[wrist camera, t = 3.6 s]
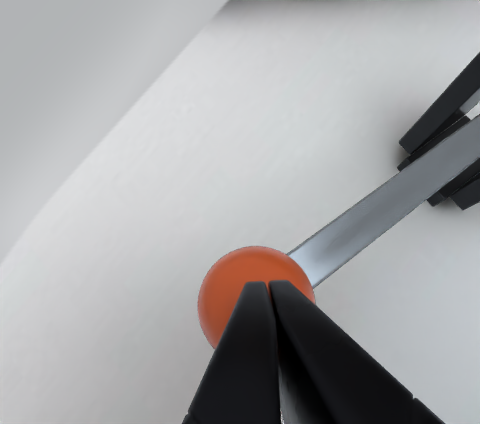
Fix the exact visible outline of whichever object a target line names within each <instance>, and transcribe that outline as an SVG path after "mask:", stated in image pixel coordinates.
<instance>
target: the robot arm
mask: <svg viewBox="0 0 480 424" xmlns="http://www.w3.org/2000/svg"><path fill="white" fill-rule="evenodd" d="M280 408H281V412H282V416H283V420H284V424H445V423H444V422H443V421H442V420H441V419H440V418H438V417H437V416H436V415H435V414H434V413H433V412H432V411H431V410H430V409H428V408H427V407H426V406H425V405H424V404H423V403H422V402H421V401H420V400H419V399H417V398H414V399H413V394H412V393H411V392H410V391H409V390H408V389H406V388H405V387H404V386H403V385H402V384H401V383H400V382H399V381H398V380H397V379H396V378H394V377H393V376H392V375H391V374H390V373H389V372H388V371H387V370H386V369H385V368H384V367H382V366H381V365H380V364H379V363H378V362H377V361H376V360H375V359H374V358H373V357H372V356H370V355H369V354H368V353H367V352H366V351H365V350H364V349H363V348H362V347H361V346H360V345H358V344H357V343H356V342H355V341H354V340H353V339H352V338H351V337H350V336H349V335H348V334H346V333H345V332H344V331H343V330H342V329H341V328H340V327H339V326H338V325H337V324H336V323H334V322H333V321H332V320H331V319H330V318H329V317H328V316H327V315H326V314H325V313H324V312H322V311H321V310H320V309H319V308H318V307H317V306H316V305H315V304H314V303H313V302H312V301H310V300H309V299H308V298H307V297H306V296H305V295H304V294H303V293H302V292H301V291H300V290H298V289H297V288H296V287H295V286H294V285H293V284H292V283H291V282H290V281H288V280H271V281H269V283H268V288H267V286H266V283H265V282H264V281H249V282H246V283H245V284H244V287H243V289H242V291H241V293H240V295H239V298H238V300H237V302H236V304H235V307H234V309H233V311H232V313H231V316H230V318H229V320H228V322H227V324H226V327H225V329H224V331H223V333H222V336H221V338H220V340H219V342H218V345H217V347H216V349H215V351H214V354H213V356H212V358H211V360H210V362H209V365H208V367H207V369H206V371H205V374H204V376H203V378H202V380H201V383H200V385H199V387H198V389H197V392H196V394H195V396H194V398H193V400H192V403H191V405H190V407H189V409H188V414H187V415H186V416H185V418H184V420H183V422H182V424H281V412H280Z"/></svg>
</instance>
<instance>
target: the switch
mask: <svg viewBox="0 0 480 424" xmlns="http://www.w3.org/2000/svg"><path fill="white" fill-rule="evenodd" d="M479 158H480V114H479V115H478V116H476V117H475V118H474V119H472V120H471V121H469V122H468V123H467V124H465V125H464V126H462V127H461V128H460V129H458V130H457V131H456V132H454V133H453V134H451V135H450V136H449V137H447V138H446V139H445V140H443V141H442V142H440V143H439V144H438V145H436V146H435V147H434V148H432V149H431V150H429V151H428V152H427V153H425V154H424V155H423V156H421V157H420V158H418V159H417V160H416V161H414V162H413V163H412V164H410V165H409V166H407V167H406V168H405V169H403V170H402V171H400V172H399V173H398V174H396V175H395V176H394V177H392V178H391V179H389V180H388V181H387V182H385V183H384V184H383V185H381V186H380V187H378V188H377V189H376V190H374V191H373V192H372V193H370V194H369V195H367V196H366V197H365V198H363V199H362V200H361V201H359V202H358V203H356V204H355V205H354V206H352V207H351V208H350V209H348V210H347V211H345V212H344V213H343V214H341V215H340V216H339V217H337V218H336V219H334V220H333V221H332V222H330V223H329V224H327V225H326V226H325V227H323V228H322V229H321V230H319V231H318V232H316V233H315V234H314V235H312V236H311V237H310V238H308V239H307V240H305V241H304V242H303V243H301V244H300V245H299V246H297V247H296V248H294V249H293V250H292V251H290V252H289V253H288V254H284V253H282V252H280V251H278V250H275V249H272V248H268V247H262V246H249V247H243V248H240V249H236V250H234V251H232V252H230V253H228V254H226V255H225V256H223V257H222V258H220V259H219V260H218V261H217V262H216V263H215V264H214V265H213V266H212V267H211V268H210V270H209V271H208V273H207V274H206V276H205V278H204V280H203V282H202V285H201V287H200V291H199V295H198V317H199V321H200V325H201V328H202V330H203V333H204V335H205V337H206V338H207V340H208V342H209V343H210V344H211V346H212V347H213V348H214V349H216V347H217V345H218V342H219V340H220V338H221V336H222V333H223V331H224V329H225V327H226V324H227V322H228V320H229V318H230V316H231V313H232V311H233V309H234V307H235V304H236V302H237V300H238V298H239V295H240V293H241V291H242V289H243V287H244V284H245V283H246V282H249V281H264V282H265V283H266V286H267V288H268V283H269V281H271V280H288V281H290V282H291V283H292V284H293V285H294V286H295V287H296V288H297V289H298V290H300V291H301V292H302V293H303V294H304V295H305V296H306V297H307V298H308V299H309V300H310V301H312V302H313V303H314V304H315V296H314V292H313V289H314V288H315V287H316V286H317V285H319V284H320V283H321V282H323V281H324V280H325V279H326V278H328V277H329V276H330V275H331V274H333V273H334V272H335V271H337V270H338V269H339V268H340V267H342V266H343V265H344V264H345V263H347V262H348V261H349V260H350V259H352V258H353V257H354V256H356V255H357V254H358V253H359V252H361V251H362V250H363V249H364V248H366V247H367V246H368V245H370V244H371V243H372V242H373V241H375V240H376V239H377V238H378V237H380V236H381V235H382V234H383V233H385V232H386V231H387V230H389V229H390V228H391V227H392V226H394V225H395V224H396V223H397V222H399V221H400V220H401V219H402V218H404V217H405V216H406V215H408V214H409V213H410V212H411V211H413V210H414V209H415V208H416V207H418V206H419V205H420V204H422V203H423V202H424V201H425V200H427V199H428V198H429V197H430V196H432V195H433V194H434V193H435V192H437V191H438V190H439V189H441V188H442V187H443V186H444V185H446V184H447V183H448V182H449V181H451V180H452V179H453V178H455V177H456V176H457V175H458V174H460V173H461V172H462V171H463V170H465V169H466V168H467V167H468V166H470V165H471V164H472V163H474V162H475V161H476V160H477V159H479Z"/></svg>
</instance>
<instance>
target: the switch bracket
mask: <svg viewBox="0 0 480 424" xmlns="http://www.w3.org/2000/svg"><path fill="white" fill-rule="evenodd" d="M478 102H480V52H479V53H478V54H477V55H476V57H475V58H474V59H473V60H472V61H471V62H470V63H469V64H468V65H467V67H466V68H465V69H464V70H463V71H462V72H461V73H460V74H459V75H458V77H457V78H456V79H455V80H454V81H453V82H452V83H451V84H450V85H449V87H448V88H447V89H446V90H445V91H444V92H443V93H442V94H441V95H440V96H439V98H438V99H437V100H436V101H435V102H434V103H433V104H432V105H431V106H430V108H429V109H428V110H427V111H426V112H425V113H424V114H423V115H422V116H421V118H420V119H419V120H418V121H417V122H416V123H415V124H414V125H413V126H412V128H411V129H410V130H409V131H408V132H407V133H406V134H405V135H404V136H403V137H402V139H401V140H400V141H399V144H400V145H401V146H402V147H403V148H404V149H405V150H406V151H407V153H408V154H410V156H409V157H408V158H406V159H405V160H404V161H403V162H402V163H401V164H400V165H399V166H398V167H397V168H398V170H399V171H402V170H403V169H405V168H406V167H407V166H409V165H410V164H412V163H413V162H414V161H416V160H417V159H418V158H420V157H421V156H423V155H424V154H425V153H427V152H428V151H429V150H431V149H432V148H434V147H435V146H436V145H438V144H439V143H440V142H442V141H443V140H445V139H446V138H447V137H449V136H450V135H451V134H453V133H454V132H456V131H457V130H458V129H460V128H461V127H462V126H464V125H465V124H467V123H468V122H469V121H471V120H470V119H469V118H468V117H467V116H464V115H465V114H466V113H467V112H469V111H470V110H471V109H472V108H473V107H474V106H475V105H476V104H477V103H478ZM463 116H464V117H463ZM459 119H460V120H459ZM456 121H457V122H456ZM452 124H453V125H452ZM448 127H449V128H448ZM445 129H446V130H445ZM444 130H445V131H444ZM441 132H442V133H441ZM437 135H438V136H437ZM433 138H434V139H433ZM430 140H431V141H430ZM426 143H427V144H426ZM422 146H423V147H422ZM419 148H420V149H419ZM418 149H419V150H418ZM415 151H416V152H415ZM411 154H412V155H411ZM476 174H477V175H476ZM475 175H476V176H475ZM471 178H472V179H471ZM466 182H467V183H466ZM461 186H462V187H461ZM456 190H457V191H456ZM452 193H453V194H452ZM451 194H452V195H451ZM449 196H450V198H451V199H452V200H453V201H454V202H455V203H456V204H457V205H458V206H459V207H460V209H461V210H465V209H467V208H469V207H470V206H472V205H474V204H476V203H478V202H480V158H479V159H477V160H476V161H475V162H474V163H472V164H471V165H470V166H468V167H467V168H466V169H465V170H463V171H462V172H461V173H460V174H458V175H457V176H456V177H455V178H453V179H452V180H451V181H449V182H448V183H447V184H446V185H444V186H443V187H442V188H441V189H439V190H438V191H437V192H435V193H434V194H433V195H432V196H430V197H429V198H428V199H427V201H428V202H429V203H430V204H431V205H432V206H435V205H437V204H438V203H440V202H442V201H443V200H445V199H446V198H447V197H449Z"/></svg>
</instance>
